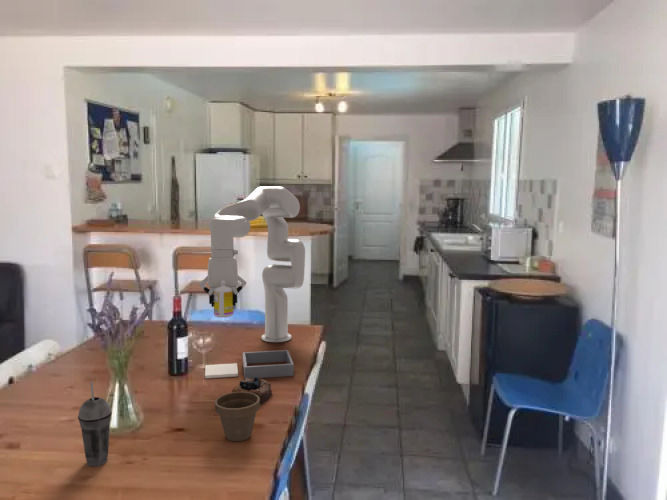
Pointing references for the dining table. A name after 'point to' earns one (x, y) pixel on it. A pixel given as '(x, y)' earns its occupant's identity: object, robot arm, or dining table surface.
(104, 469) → the dining table surface
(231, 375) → the tile
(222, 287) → the supplement bottle
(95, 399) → the beverage cup
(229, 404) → the flower pot
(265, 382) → the pastry
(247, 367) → the bin
